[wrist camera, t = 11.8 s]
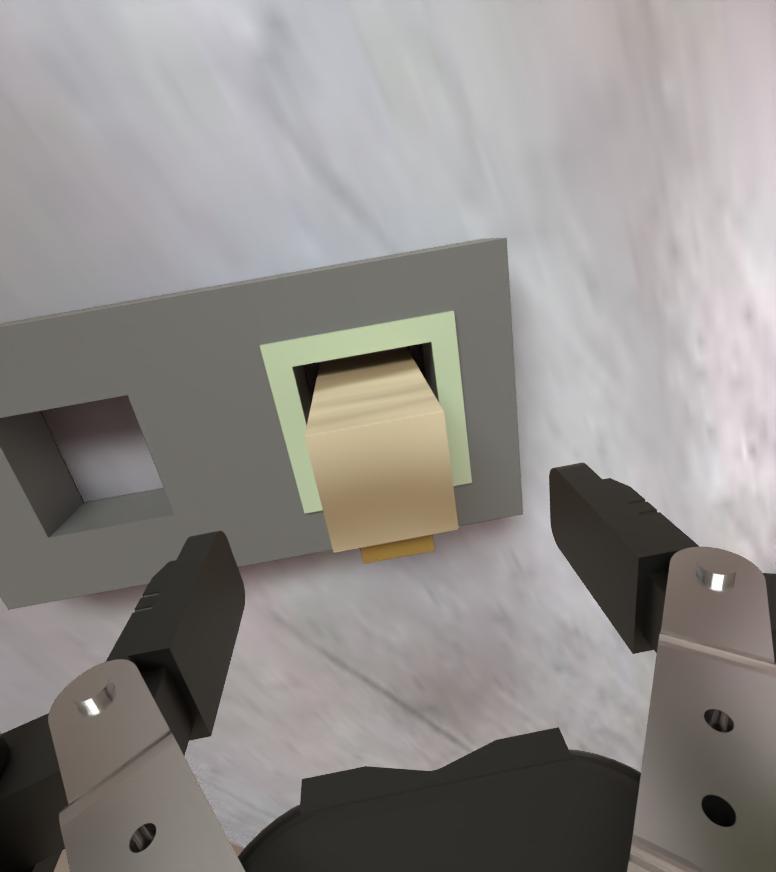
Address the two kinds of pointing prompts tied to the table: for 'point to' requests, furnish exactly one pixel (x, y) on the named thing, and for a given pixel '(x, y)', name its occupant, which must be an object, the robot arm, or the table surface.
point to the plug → (380, 456)
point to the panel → (242, 411)
